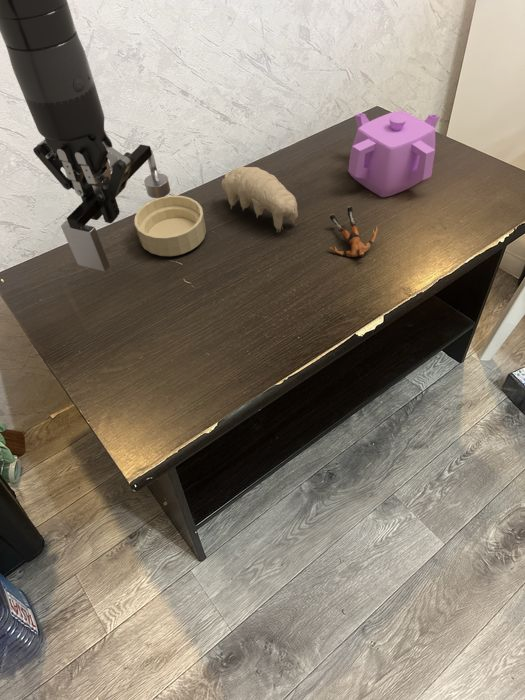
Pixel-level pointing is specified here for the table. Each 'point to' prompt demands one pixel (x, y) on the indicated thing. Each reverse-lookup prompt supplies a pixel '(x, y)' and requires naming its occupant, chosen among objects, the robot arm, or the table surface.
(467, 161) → the table surface
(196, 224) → the bowl
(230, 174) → the model
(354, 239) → the figurine
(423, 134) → the teakettle
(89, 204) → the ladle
